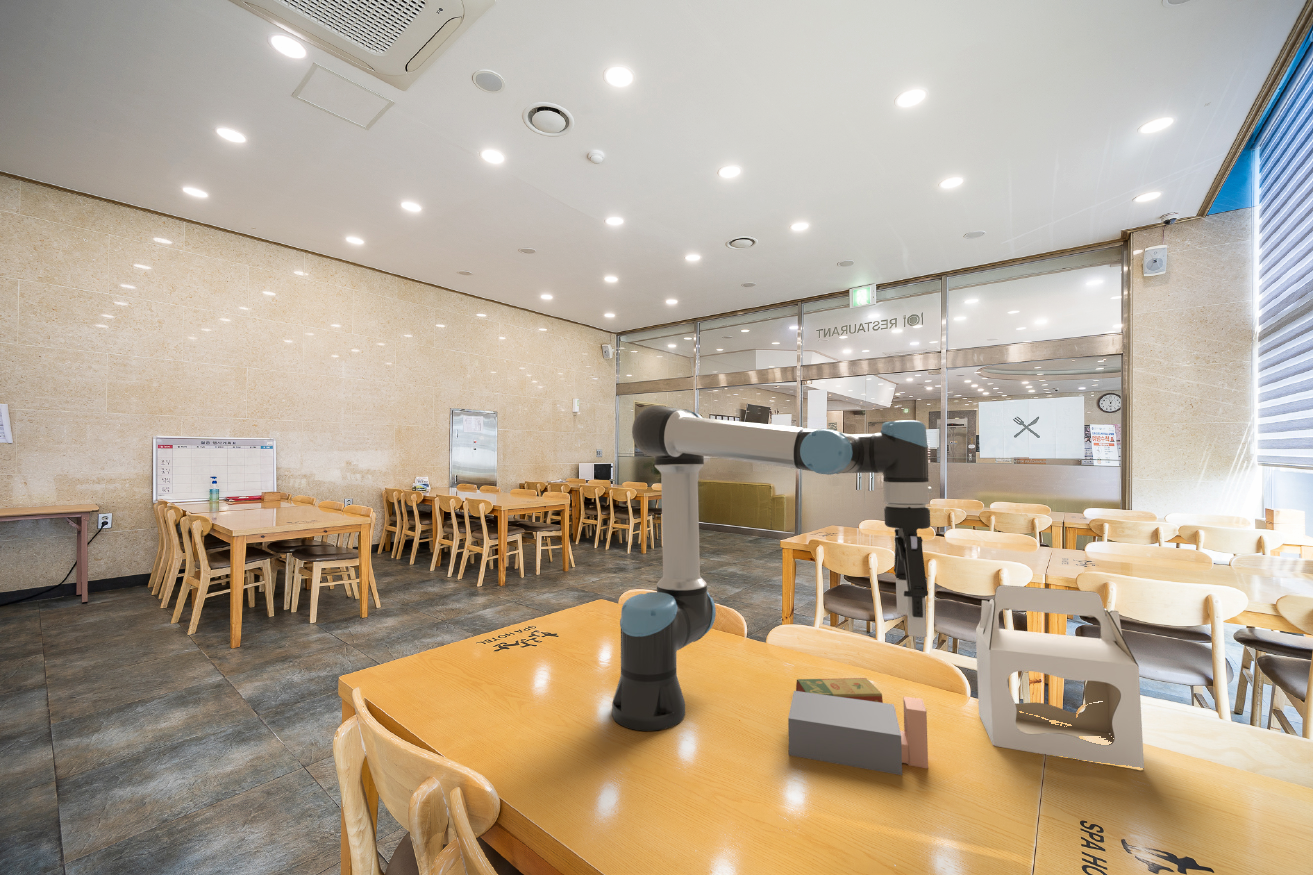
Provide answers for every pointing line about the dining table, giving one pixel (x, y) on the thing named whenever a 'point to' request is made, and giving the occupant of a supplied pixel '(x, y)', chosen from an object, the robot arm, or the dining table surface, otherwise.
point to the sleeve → (845, 732)
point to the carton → (841, 688)
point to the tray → (914, 733)
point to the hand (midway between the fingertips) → (910, 624)
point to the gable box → (1066, 658)
